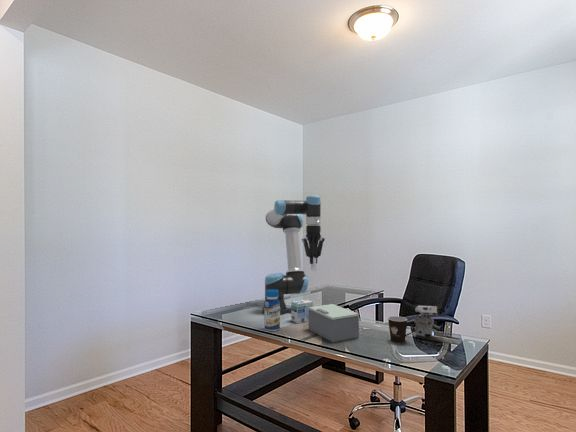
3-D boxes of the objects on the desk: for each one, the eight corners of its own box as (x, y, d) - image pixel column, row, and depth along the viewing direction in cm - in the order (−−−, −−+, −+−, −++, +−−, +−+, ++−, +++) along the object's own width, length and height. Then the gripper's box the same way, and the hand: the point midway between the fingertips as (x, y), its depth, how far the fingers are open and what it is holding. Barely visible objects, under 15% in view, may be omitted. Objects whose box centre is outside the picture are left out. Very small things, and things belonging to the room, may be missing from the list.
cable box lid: (308, 309, 178) (308, 306, 178) (332, 305, 185) (332, 302, 185) (332, 319, 159) (332, 316, 159) (358, 315, 165) (358, 312, 165)
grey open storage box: (308, 329, 178) (308, 309, 178) (332, 325, 185) (332, 306, 185) (332, 342, 158) (332, 320, 159) (358, 337, 165) (358, 316, 165)
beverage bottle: (277, 325, 184) (277, 288, 184) (282, 330, 176) (282, 291, 176) (262, 327, 181) (262, 289, 182) (266, 332, 173) (266, 292, 174)
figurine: (437, 342, 158) (437, 309, 158) (412, 337, 165) (412, 305, 166) (443, 337, 165) (443, 305, 165) (419, 332, 172) (418, 302, 173)
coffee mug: (384, 338, 163) (384, 317, 164) (399, 336, 167) (398, 315, 167) (400, 346, 153) (400, 324, 153) (416, 344, 156) (416, 321, 156)
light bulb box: (297, 323, 188) (297, 303, 188) (290, 320, 193) (290, 301, 194) (313, 320, 193) (313, 301, 194) (306, 317, 199) (306, 299, 199)
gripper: (306, 225, 175) (306, 271, 175) (327, 225, 181) (327, 270, 181) (299, 225, 182) (299, 270, 181) (320, 225, 188) (320, 268, 187)
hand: (313, 270), depth 181 cm, fingers closed
